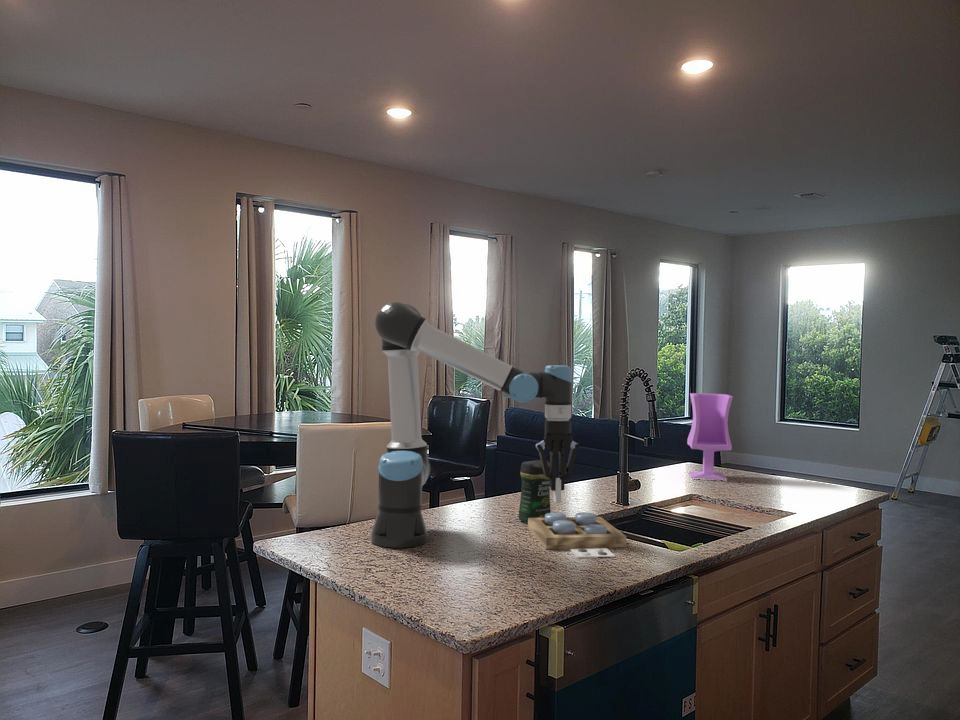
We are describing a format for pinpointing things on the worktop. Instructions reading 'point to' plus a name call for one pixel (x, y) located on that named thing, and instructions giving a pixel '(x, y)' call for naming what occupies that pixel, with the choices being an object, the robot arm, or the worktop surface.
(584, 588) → the worktop surface
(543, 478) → the coffee jar
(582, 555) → the card
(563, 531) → the button
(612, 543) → the board
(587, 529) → the button
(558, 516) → the button
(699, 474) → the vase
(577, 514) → the button
